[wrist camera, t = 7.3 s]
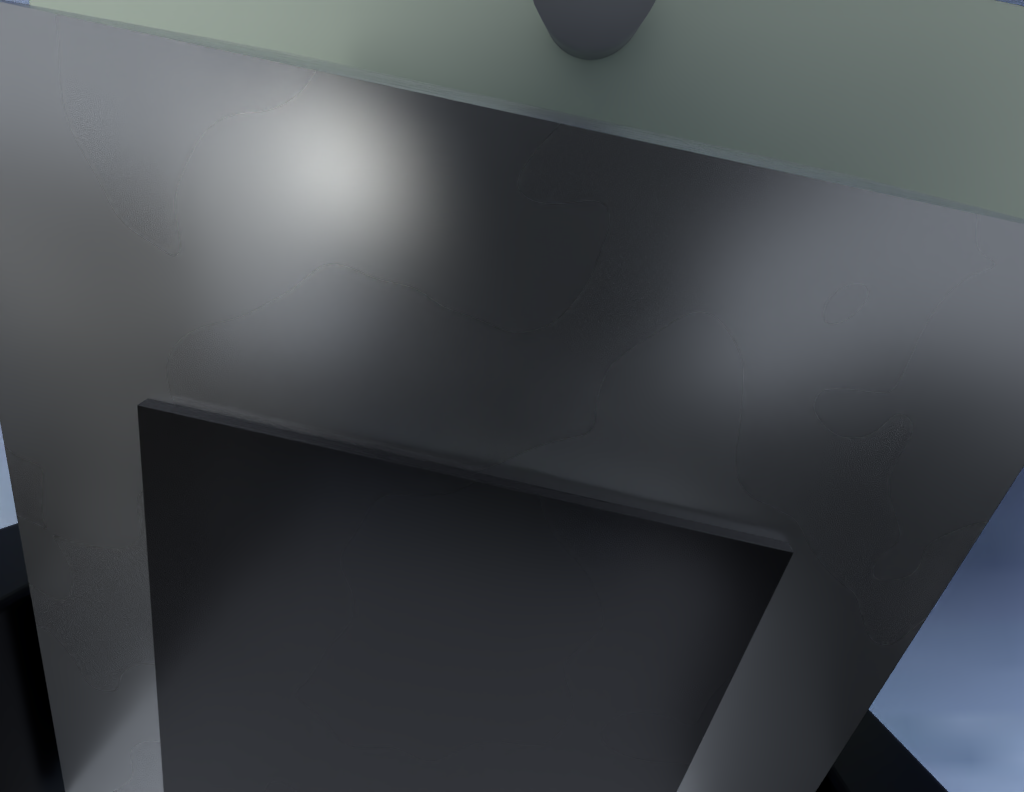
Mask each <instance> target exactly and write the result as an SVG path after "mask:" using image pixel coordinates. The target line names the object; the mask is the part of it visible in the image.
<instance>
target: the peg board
mask: <svg viewBox="0 0 1024 792" xmlns="http://www.w3.org/2000/svg"><path fill="white" fill-rule="evenodd" d="M29 2H30V5H33V6H39V7H44V8H49V9H55V10H60V11H66V12H71V13H77V14H82V15H87V16H93V17H98V18H104V19H109V20H114V21H120V22H125V23H131V24H136V25H141V26H147V27H152V28H158V29H163V30H169V31H174V32H179V33H185V34H190V35H196V36H201V37H206V38H212V39H217V40H223V41H228V42H233V43H239V44H244V45H250V46H255V47H261V48H266V49H271V50H277V51H282V52H287V53H292V54H296V55H301V56H305V57H310V58H315V59H319V60H324V61H328V62H333V63H338V64H342V65H347V66H351V67H356V68H361V69H365V70H370V71H375V72H379V73H384V74H388V75H393V76H398V77H402V78H407V79H411V80H416V81H421V82H425V83H430V84H434V85H439V86H444V87H448V88H453V89H458V90H462V91H467V92H471V93H476V94H481V95H485V96H490V97H494V98H499V99H504V100H508V101H513V102H518V103H522V104H527V105H531V106H536V107H541V108H545V109H550V110H554V111H559V112H564V113H568V114H573V115H577V116H582V117H587V118H591V119H596V120H601V121H605V122H610V123H614V124H619V125H624V126H628V127H633V128H637V129H642V130H647V131H651V132H656V133H661V134H665V135H670V136H674V137H679V138H684V139H688V140H693V141H697V142H702V143H707V144H711V145H716V146H720V147H725V148H730V149H734V150H739V151H744V152H748V153H753V154H757V155H762V156H767V157H771V158H776V159H780V160H785V161H790V162H794V163H799V164H804V165H808V166H813V167H817V168H822V169H827V170H831V171H836V172H840V173H845V174H849V175H853V176H857V177H861V178H864V179H868V180H872V181H876V182H880V183H884V184H888V185H892V186H896V187H900V188H904V189H908V190H912V191H916V192H920V193H924V194H927V195H931V196H935V197H939V198H943V199H947V200H951V201H955V202H959V203H963V204H967V205H971V206H975V207H979V208H983V209H986V210H990V211H994V212H998V213H1002V214H1006V215H1010V216H1014V217H1018V218H1022V219H1024V6H1020V5H1015V4H1010V3H1005V2H1001V1H996V0H29Z"/></svg>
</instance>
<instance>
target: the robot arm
mask: <svg viewBox="0 0 1024 792" xmlns="http://www.w3.org/2000/svg"><path fill="white" fill-rule="evenodd" d="M0 792H65V787H64V782H63V776H62V770H61V765H60V759H59V753H58V747H57V742H56V736H55V730H54V725H53V719H52V713H51V708H50V702H49V696H48V690H47V685H46V679H45V673H44V668H43V662H42V656H41V651H40V645H39V639H38V633H37V628H36V622H35V616H34V611H33V605H32V599H31V594H30V588H29V582H28V576H27V571H26V565H25V559H24V554H23V548H22V542H21V536H20V531H19V525H18V523H17V524H14V525H11V526H8V527H5V528H2V529H0ZM816 792H948V791H947V790H946V789H945V788H944V787H943V786H942V785H941V784H940V783H939V782H938V781H937V780H936V779H935V778H934V776H933V775H932V774H931V773H930V772H929V771H928V770H927V769H926V768H925V767H924V766H923V765H922V764H921V763H920V762H919V761H918V760H917V759H916V758H915V757H914V756H913V755H912V754H911V753H910V752H909V751H908V750H907V749H906V748H905V747H904V745H903V744H902V743H901V742H900V741H899V740H898V739H897V738H896V737H895V736H894V735H893V734H892V733H891V732H890V731H889V730H888V729H887V728H886V727H885V726H884V725H883V724H882V723H881V722H880V721H879V720H878V719H877V718H876V717H875V716H874V714H873V713H872V712H871V711H870V710H869V709H868V710H867V712H866V714H865V715H864V717H863V718H862V720H861V721H860V723H859V724H858V726H857V728H856V729H855V731H854V732H853V734H852V735H851V737H850V739H849V740H848V742H847V743H846V745H845V746H844V748H843V750H842V751H841V753H840V754H839V756H838V757H837V759H836V760H835V762H834V764H833V765H832V767H831V768H830V770H829V771H828V773H827V775H826V776H825V778H824V779H823V781H822V782H821V784H820V786H819V787H818V789H817V790H816Z"/></svg>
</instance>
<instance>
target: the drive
mask: <svg viewBox="0 0 1024 792" xmlns="http://www.w3.org/2000/svg"><path fill="white" fill-rule="evenodd" d="M0 422H1V428H2V434H3V440H4V445H5V451H6V457H7V462H8V468H9V474H10V479H11V485H12V491H13V497H14V502H15V508H16V514H17V519H18V525H19V531H20V536H21V542H22V548H23V554H24V559H25V565H26V571H27V576H28V582H29V588H30V594H31V599H32V605H33V611H34V616H35V622H36V628H37V633H38V639H39V645H40V651H41V656H42V662H43V668H44V673H45V679H46V685H47V690H48V696H49V702H50V708H51V713H52V719H53V725H54V730H55V736H56V742H57V747H58V753H59V759H60V765H61V770H62V776H63V782H64V787H65V792H816V790H817V789H818V787H819V786H820V784H821V782H822V781H823V779H824V778H825V776H826V775H827V773H828V771H829V770H830V768H831V767H832V765H833V764H834V762H835V760H836V759H837V757H838V756H839V754H840V753H841V751H842V750H843V748H844V746H845V745H846V743H847V742H848V740H849V739H850V737H851V735H852V734H853V732H854V731H855V729H856V728H857V726H858V724H859V723H860V721H861V720H862V718H863V717H864V715H865V714H866V712H867V710H868V709H869V707H870V706H871V704H872V703H873V701H874V699H875V698H876V696H877V695H878V693H879V692H880V690H881V689H882V687H883V685H884V684H885V682H886V681H887V679H888V678H889V676H890V674H891V673H892V671H893V670H894V668H895V667H896V665H897V663H898V662H899V660H900V659H901V657H902V656H903V654H904V653H905V651H906V649H907V648H908V646H909V645H910V643H911V642H912V640H913V638H914V637H915V635H916V634H917V632H918V631H919V629H920V627H921V626H922V624H923V623H924V621H925V620H926V618H927V617H928V615H929V613H930V612H931V610H932V609H933V607H934V606H935V604H936V602H937V601H938V599H939V598H940V596H941V595H942V593H943V592H944V590H945V588H946V587H947V585H948V584H949V582H950V581H951V579H952V577H953V576H954V574H955V573H956V571H957V570H958V568H959V566H960V565H961V563H962V562H963V560H964V559H965V557H966V556H967V554H968V552H969V551H970V549H971V548H972V546H973V545H974V543H975V541H976V540H977V538H978V537H979V535H980V534H981V532H982V530H983V529H984V527H985V526H986V524H987V523H988V521H989V520H990V518H991V516H992V515H993V513H994V512H995V510H996V509H997V507H998V505H999V504H1000V502H1001V501H1002V499H1003V498H1004V496H1005V495H1006V493H1007V491H1008V490H1009V488H1010V487H1011V485H1012V484H1013V482H1014V480H1015V479H1016V477H1017V476H1018V474H1019V473H1020V471H1021V469H1022V468H1023V466H1024V219H1022V218H1018V217H1014V216H1010V215H1006V214H1002V213H998V212H994V211H990V210H986V209H983V208H979V207H975V206H971V205H967V204H963V203H959V202H955V201H951V200H947V199H943V198H939V197H935V196H931V195H927V194H924V193H920V192H916V191H912V190H908V189H904V188H900V187H896V186H892V185H888V184H884V183H880V182H876V181H872V180H868V179H864V178H861V177H857V176H853V175H849V174H845V173H840V172H836V171H831V170H827V169H822V168H817V167H813V166H808V165H804V164H799V163H794V162H790V161H785V160H780V159H776V158H771V157H767V156H762V155H757V154H753V153H748V152H744V151H739V150H734V149H730V148H725V147H720V146H716V145H711V144H707V143H702V142H697V141H693V140H688V139H684V138H679V137H674V136H670V135H665V134H661V133H656V132H651V131H647V130H642V129H637V128H633V127H628V126H624V125H619V124H614V123H610V122H605V121H601V120H596V119H591V118H587V117H582V116H577V115H573V114H568V113H564V112H559V111H554V110H550V109H545V108H541V107H536V106H531V105H527V104H522V103H518V102H513V101H508V100H504V99H499V98H494V97H490V96H485V95H481V94H476V93H471V92H467V91H462V90H458V89H453V88H448V87H444V86H439V85H434V84H430V83H425V82H421V81H416V80H411V79H407V78H402V77H398V76H393V75H388V74H384V73H379V72H375V71H370V70H365V69H361V68H356V67H351V66H347V65H342V64H338V63H333V62H328V61H324V60H319V59H315V58H310V57H305V56H301V55H296V54H292V53H287V52H282V51H277V50H271V49H266V48H261V47H255V46H250V45H244V44H239V43H233V42H228V41H223V40H217V39H212V38H206V37H201V36H196V35H190V34H185V33H179V32H174V31H169V30H163V29H158V28H152V27H147V26H141V25H136V24H131V23H125V22H120V21H114V20H109V19H104V18H98V17H93V16H87V15H82V14H77V13H71V12H66V11H60V10H55V9H49V8H44V7H39V6H33V5H28V4H22V3H17V2H12V1H6V0H0Z"/></svg>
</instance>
